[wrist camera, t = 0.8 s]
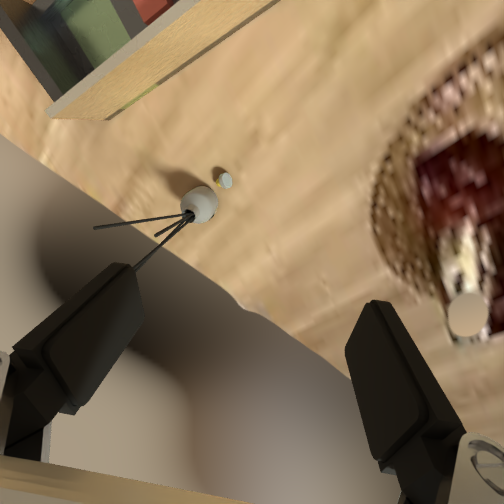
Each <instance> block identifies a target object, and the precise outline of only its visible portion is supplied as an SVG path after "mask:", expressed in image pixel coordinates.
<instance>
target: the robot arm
mask: <svg viewBox="0 0 504 504" xmlns="http://www.w3.org/2000/svg"><path fill="white" fill-rule="evenodd" d="M144 317H145V315H144V310H143V305H142V301H141V296H140V291H139V287H138V282H137V278H136V273H135V270H134V269H133V268H132V267H131V266H130V265H129V264H124V263H117V262H114V263H112V264H110V265H109V266H108V267H107V268H106V269H104V270H103V271H102V272H101V273H100V274H98V275H97V276H96V277H95V278H94V279H93V280H91V281H90V282H89V283H88V284H87V285H85V286H84V287H83V288H82V289H81V290H79V291H78V292H77V293H76V294H75V295H74V296H72V297H71V298H70V299H69V300H67V301H66V302H65V303H64V304H63V305H61V306H60V307H59V308H58V309H57V310H56V311H54V312H53V313H52V314H51V315H50V316H48V317H47V318H46V319H45V320H44V321H43V322H41V323H40V324H39V325H38V326H36V327H35V328H34V329H33V330H32V331H31V332H29V333H28V334H27V335H26V336H25V337H23V338H22V339H21V340H20V341H19V342H17V343H16V344H15V345H14V346H12V348H13V349H14V352H12V353H11V354H10V355H8V354H7V353H6V352H2V351H0V504H253V503H248V502H243V501H238V500H233V499H228V498H223V497H217V496H213V495H208V494H202V493H198V492H193V491H188V490H183V489H178V488H173V487H167V486H163V485H158V484H153V483H147V482H142V481H138V480H132V479H127V478H122V477H117V476H112V475H106V474H101V473H96V472H90V471H86V470H81V469H76V468H70V467H65V466H60V465H55V464H50V463H49V452H50V438H51V423H52V419H53V418H54V417H55V415H56V414H57V413H58V412H59V413H64V414H70V415H75V414H76V412H77V411H78V410H79V408H80V407H81V406H84V405H85V404H86V403H87V402H88V401H89V400H90V398H91V397H92V396H93V394H94V393H95V391H96V390H97V388H98V387H99V385H100V384H101V382H102V381H103V379H104V378H105V377H106V375H107V374H108V372H109V371H110V369H111V368H112V366H113V365H114V364H115V362H116V361H117V359H118V358H119V356H120V355H121V354H122V352H123V351H124V349H125V348H126V346H127V345H128V343H129V342H130V340H131V339H132V337H133V336H134V334H135V333H136V332H137V330H138V329H139V327H140V326H141V325H142V323H143V321H144ZM345 357H346V361H347V365H348V369H349V372H350V376H351V380H352V384H353V387H354V391H355V395H356V399H357V402H358V406H359V410H360V413H361V417H362V421H363V425H364V429H365V432H366V436H367V439H368V444H369V448H370V451H371V454H372V456H373V458H374V459H375V460H377V461H378V464H379V468H380V471H381V473H388V474H393V475H397V478H398V481H399V484H400V487H401V493H400V497H399V499H398V502H397V504H504V447H502V446H501V445H500V444H499V443H497V442H495V441H494V440H492V439H490V438H489V437H486V436H484V435H481V434H478V433H470V432H469V433H467V432H466V430H465V429H464V427H463V425H462V422H461V421H460V419H459V417H458V416H457V414H456V412H455V410H454V409H453V407H452V405H451V404H450V402H449V400H448V399H447V397H446V395H445V394H444V392H443V390H442V389H441V387H440V385H439V383H438V382H437V380H436V378H435V377H434V375H433V373H432V372H431V370H430V368H429V367H428V365H427V363H426V362H425V360H424V358H423V357H422V355H421V353H420V351H419V350H418V348H417V346H416V345H415V343H414V341H413V340H412V338H411V336H410V335H409V333H408V331H407V330H406V328H405V326H404V324H403V323H402V321H401V319H400V318H399V316H398V314H397V313H396V311H395V309H394V308H393V306H392V304H391V303H390V302H386V301H379V300H372V301H371V302H370V303H366V304H365V306H364V308H363V310H362V312H361V314H360V317H359V319H358V321H357V323H356V325H355V327H354V329H353V331H352V333H351V336H350V338H349V340H348V342H347V344H346V346H345Z"/></svg>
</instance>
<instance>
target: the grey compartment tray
mask: <svg viewBox="0 0 504 504" xmlns="http://www.w3.org/2000/svg"><path fill="white" fill-rule="evenodd" d="M172 1H173V3H174V5H173V6H172V7H171V8H170V9H168V10H167V11H166V12H165V13H163V14H162V15H161V16H160V17H159V18H157V19H156V20H155V21H154V22H152V23H151V24H150V25H149V26H148V25H146V24H145V23H144V22H143V20H142V18H141V16H140V14H139V12H138V10H137V8H136V6H135V4H134V2H133V0H36V1H35V2H34V3H33V4H32V5H31V4H29V3H27V2H25V1H23V0H0V28H1V30H2V31H3V32H4V34H5V35H6V36H7V38H8V39H9V41H10V42H11V43H12V45H13V46H14V47H15V49H16V50H17V52H18V53H19V54H20V56H21V57H22V59H23V60H24V61H25V63H26V64H27V65H28V67H29V68H30V70H31V71H32V72H33V74H34V75H35V76H36V78H37V79H38V81H39V82H40V83H41V85H42V86H43V87H44V89H45V90H46V92H47V93H48V94H49V96H50V97H51V99H52V100H53V101H54V103H53V104H52V105H51V106H49V107H48V108H47V109H46V110H45V112H46V113H47V115H48V116H49V117H50V119H78V120H110V119H112V118H113V117H114V116H116V115H117V114H119V113H120V112H122V111H123V110H124V109H126V108H127V107H129V106H130V105H132V104H133V103H134V102H136V101H137V100H139V99H140V98H142V97H143V96H144V95H146V94H147V93H149V92H150V91H152V90H153V89H154V88H156V87H157V86H159V85H160V84H162V83H163V82H164V81H166V80H167V79H169V78H170V77H172V76H173V75H174V74H176V73H177V72H179V71H180V70H182V69H183V68H184V67H186V66H187V65H189V64H190V63H192V62H193V61H194V60H196V59H197V58H199V57H200V56H202V55H203V54H204V53H206V52H207V51H209V50H210V49H212V48H213V47H214V46H216V45H217V44H219V43H220V42H222V41H223V40H224V39H226V38H227V37H229V36H230V35H232V34H233V33H234V32H236V31H237V30H239V29H240V28H242V27H243V26H244V25H246V24H247V23H249V22H250V21H252V20H253V19H254V18H256V17H257V16H259V15H260V14H262V13H263V12H264V11H266V10H267V9H269V8H270V7H272V6H273V5H274V4H276V3H277V2H279V1H280V0H172Z"/></svg>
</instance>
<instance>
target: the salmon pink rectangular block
mask: <svg viewBox="0 0 504 504" xmlns="http://www.w3.org/2000/svg"><path fill="white" fill-rule="evenodd" d="M133 2H134V4H135V6H136V8H137V10H138V12H139V14H140V16H141V18H142V20H143V22H144V23H145V24H146V25H148V26H149V25H150V24H151V23H152V22H154V21H155V20H156V19H157V18H159V17H160V16H161V15H162V14H163V13H165V12H166V11H167V10H168V9H170V8H171V7H172V6H173V5H174V3H173V1H172V0H133Z"/></svg>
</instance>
